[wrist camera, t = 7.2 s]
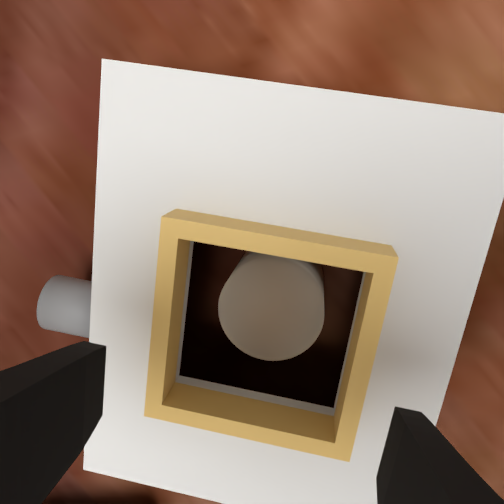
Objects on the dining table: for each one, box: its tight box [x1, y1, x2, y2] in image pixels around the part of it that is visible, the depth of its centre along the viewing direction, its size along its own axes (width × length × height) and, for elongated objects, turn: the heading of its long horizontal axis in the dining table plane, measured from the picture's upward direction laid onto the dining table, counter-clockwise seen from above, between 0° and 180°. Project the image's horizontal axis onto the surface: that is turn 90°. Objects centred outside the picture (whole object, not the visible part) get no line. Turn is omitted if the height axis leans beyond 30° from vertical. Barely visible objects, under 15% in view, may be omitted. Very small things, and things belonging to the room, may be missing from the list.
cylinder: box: [218, 251, 324, 361], centre depth 19 cm, size 4×4×4 cm
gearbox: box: [37, 59, 504, 504], centre depth 18 cm, size 16×16×6 cm
